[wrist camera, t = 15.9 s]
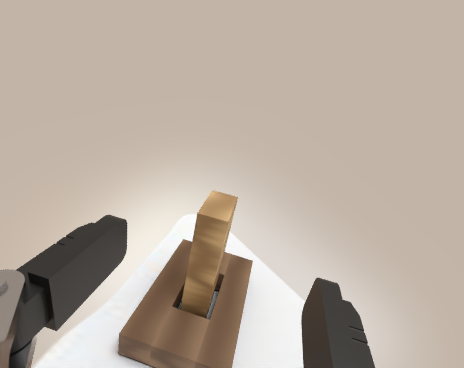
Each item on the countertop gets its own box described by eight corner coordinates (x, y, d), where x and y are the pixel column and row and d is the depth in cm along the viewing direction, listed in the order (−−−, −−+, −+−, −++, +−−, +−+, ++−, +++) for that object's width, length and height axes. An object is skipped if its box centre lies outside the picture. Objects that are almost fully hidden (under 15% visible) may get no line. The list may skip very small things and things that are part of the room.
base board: (248, 276, 38) (252, 260, 37) (223, 393, 24) (230, 374, 23) (180, 254, 39) (183, 239, 38) (118, 353, 25) (119, 333, 24)
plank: (213, 293, 34) (237, 197, 28) (202, 329, 29) (228, 221, 23) (193, 286, 34) (212, 190, 28) (178, 321, 29) (197, 213, 23)
